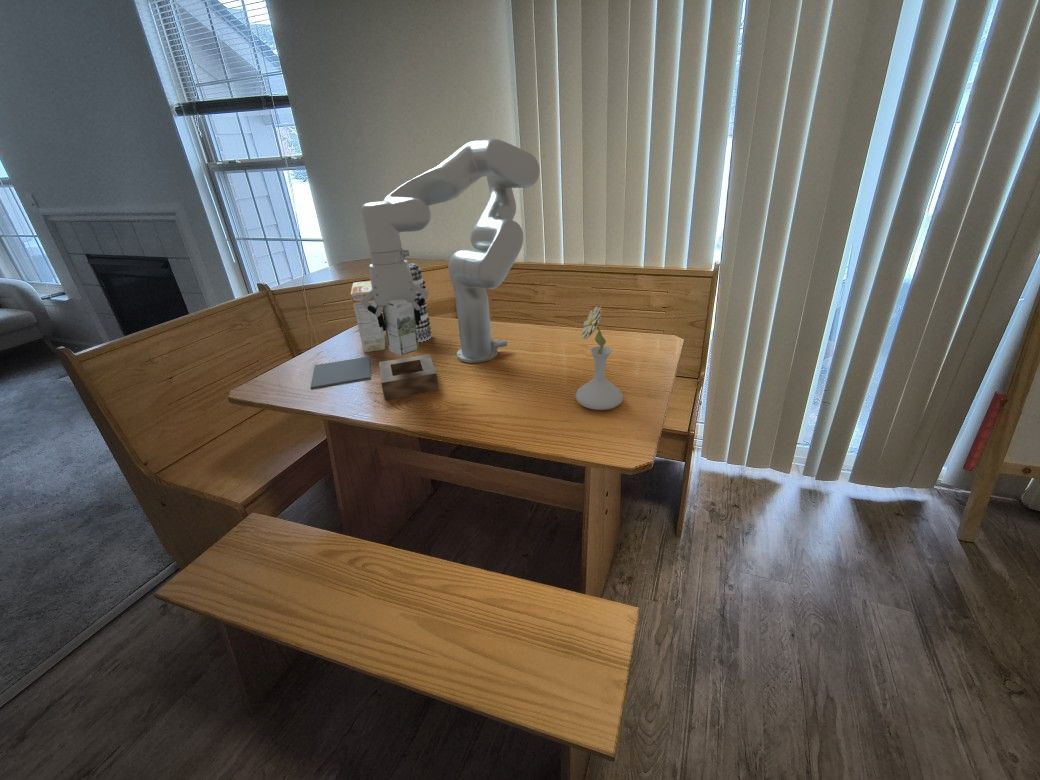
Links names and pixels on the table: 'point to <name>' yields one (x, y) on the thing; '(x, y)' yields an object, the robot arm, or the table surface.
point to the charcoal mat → (341, 372)
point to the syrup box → (400, 327)
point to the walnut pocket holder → (408, 376)
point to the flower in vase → (598, 371)
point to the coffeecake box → (367, 319)
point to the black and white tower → (423, 327)
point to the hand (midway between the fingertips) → (400, 326)
